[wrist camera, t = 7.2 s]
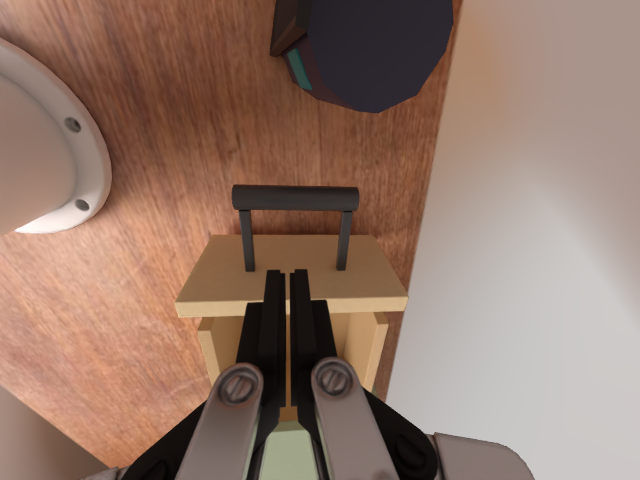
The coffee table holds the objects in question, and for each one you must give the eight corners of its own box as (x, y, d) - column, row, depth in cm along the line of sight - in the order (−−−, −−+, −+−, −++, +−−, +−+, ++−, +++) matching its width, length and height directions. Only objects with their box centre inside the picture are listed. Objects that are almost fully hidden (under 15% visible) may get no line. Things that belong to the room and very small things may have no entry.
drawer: (199, 162, 18) (143, 204, 11) (385, 167, 19) (435, 208, 13) (234, 357, 28) (215, 440, 22) (353, 352, 30) (371, 428, 23)
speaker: (236, 44, 15) (206, -14, 7) (285, -67, 14) (334, -353, 5) (335, 120, 19) (403, 149, 10) (386, 39, 17) (525, -15, 8)
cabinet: (227, 335, 28) (199, 438, 19) (359, 330, 29) (385, 423, 21) (242, 416, 36) (227, 513, 28) (345, 409, 37) (359, 499, 29)
